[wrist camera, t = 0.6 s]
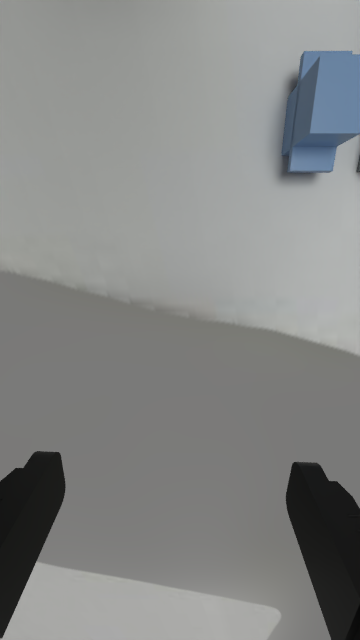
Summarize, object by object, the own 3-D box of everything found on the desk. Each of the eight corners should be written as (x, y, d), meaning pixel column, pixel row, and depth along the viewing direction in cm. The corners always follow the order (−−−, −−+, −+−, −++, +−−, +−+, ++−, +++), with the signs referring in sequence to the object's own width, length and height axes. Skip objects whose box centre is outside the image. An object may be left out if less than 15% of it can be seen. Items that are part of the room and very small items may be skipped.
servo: (290, 72, 26) (325, 19, 20) (332, 72, 26) (381, 19, 20) (279, 176, 29) (305, 161, 23) (317, 177, 29) (355, 161, 22)
